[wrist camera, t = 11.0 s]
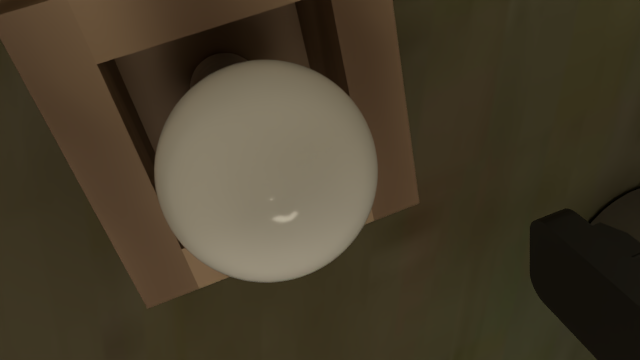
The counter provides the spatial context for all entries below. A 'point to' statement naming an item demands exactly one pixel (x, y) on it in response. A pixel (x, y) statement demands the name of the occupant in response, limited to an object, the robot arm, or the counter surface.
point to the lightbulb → (265, 168)
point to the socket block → (174, 81)
